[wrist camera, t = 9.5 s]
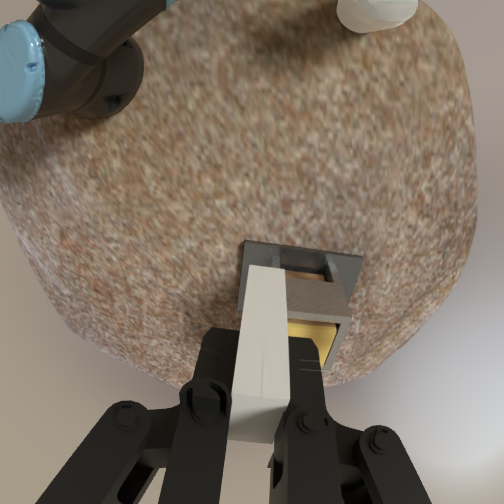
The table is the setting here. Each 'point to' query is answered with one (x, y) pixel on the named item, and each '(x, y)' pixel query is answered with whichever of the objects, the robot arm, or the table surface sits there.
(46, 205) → the table surface
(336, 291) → the chute
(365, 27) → the cup
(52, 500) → the robot arm
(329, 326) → the block
